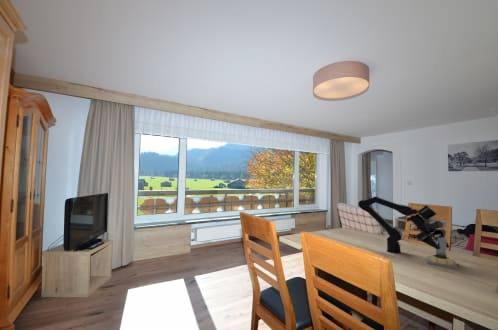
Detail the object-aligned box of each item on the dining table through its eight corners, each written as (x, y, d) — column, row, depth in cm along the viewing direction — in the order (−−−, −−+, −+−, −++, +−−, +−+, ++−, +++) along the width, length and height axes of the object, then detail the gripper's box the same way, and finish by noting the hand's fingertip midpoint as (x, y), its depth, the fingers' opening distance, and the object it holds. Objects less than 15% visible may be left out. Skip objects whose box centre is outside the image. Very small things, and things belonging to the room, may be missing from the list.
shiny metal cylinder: (436, 261, 120) (435, 237, 121) (435, 259, 123) (435, 236, 124) (446, 263, 117) (446, 239, 118) (446, 261, 120) (446, 237, 121)
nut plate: (427, 263, 119) (427, 257, 120) (427, 257, 128) (427, 251, 129) (457, 269, 112) (457, 262, 112) (455, 263, 121) (455, 256, 121)
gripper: (421, 216, 122) (445, 242, 111) (441, 215, 129) (466, 239, 118) (407, 227, 129) (428, 252, 118) (426, 225, 136) (448, 249, 125)
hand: (443, 248), depth 119 cm, fingers open, 9 cm apart
